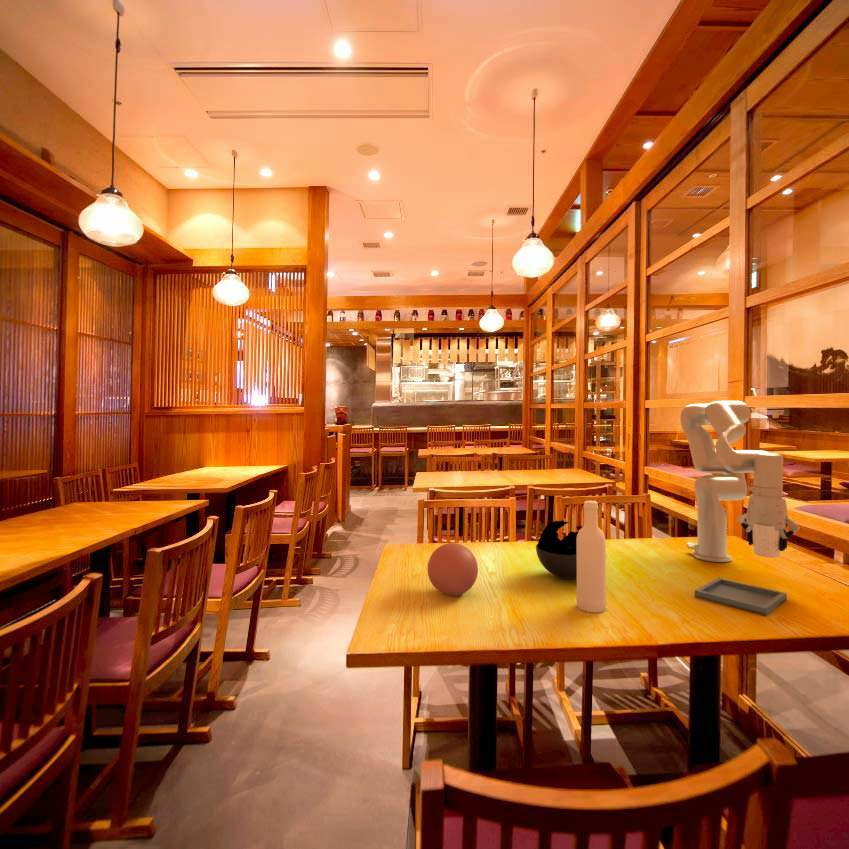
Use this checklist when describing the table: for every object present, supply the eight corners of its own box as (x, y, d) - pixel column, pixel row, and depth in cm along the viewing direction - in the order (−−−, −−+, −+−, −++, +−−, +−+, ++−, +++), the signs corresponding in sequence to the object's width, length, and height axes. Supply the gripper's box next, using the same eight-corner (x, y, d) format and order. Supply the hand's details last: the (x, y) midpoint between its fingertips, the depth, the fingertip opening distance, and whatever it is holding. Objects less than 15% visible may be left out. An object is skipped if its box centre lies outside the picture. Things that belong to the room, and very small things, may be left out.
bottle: (602, 615, 129) (602, 504, 128) (573, 609, 133) (572, 502, 133) (608, 605, 135) (608, 500, 135) (580, 600, 140) (580, 498, 139)
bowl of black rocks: (530, 568, 171) (530, 515, 171) (587, 568, 170) (586, 515, 170) (543, 587, 151) (542, 528, 151) (606, 587, 150) (606, 528, 150)
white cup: (776, 552, 153) (777, 521, 153) (786, 559, 146) (786, 527, 145) (747, 549, 156) (748, 519, 155) (756, 557, 148) (756, 525, 148)
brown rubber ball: (463, 578, 159) (463, 533, 159) (485, 600, 140) (485, 548, 140) (419, 582, 156) (418, 536, 156) (435, 605, 136) (434, 552, 136)
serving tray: (694, 597, 142) (694, 590, 142) (718, 583, 153) (718, 577, 153) (766, 616, 128) (766, 608, 128) (786, 600, 139) (786, 593, 139)
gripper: (732, 489, 154) (731, 543, 155) (798, 497, 141) (797, 556, 142) (740, 487, 159) (739, 539, 160) (805, 494, 146) (804, 551, 146)
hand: (766, 546), depth 151 cm, fingers closed on white cup, 7 cm apart
